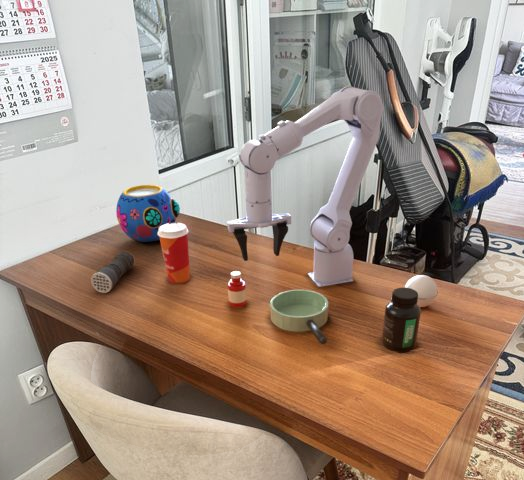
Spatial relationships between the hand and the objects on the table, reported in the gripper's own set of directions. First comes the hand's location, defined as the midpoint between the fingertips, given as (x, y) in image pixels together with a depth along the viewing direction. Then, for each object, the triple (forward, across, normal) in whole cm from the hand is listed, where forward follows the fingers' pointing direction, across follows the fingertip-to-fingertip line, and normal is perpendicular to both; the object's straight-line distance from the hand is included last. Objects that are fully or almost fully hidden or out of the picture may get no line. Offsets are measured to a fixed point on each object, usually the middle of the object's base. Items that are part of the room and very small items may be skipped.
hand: (260, 256), depth 121 cm
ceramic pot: (+10, -22, +47) cm, 53 cm away
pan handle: (+8, +4, -24) cm, 26 cm away
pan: (+10, +4, -14) cm, 18 cm away
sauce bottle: (+10, -7, -3) cm, 12 cm away
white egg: (+10, +33, -19) cm, 39 cm away
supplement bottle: (+10, +20, -31) cm, 38 cm away
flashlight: (+10, -34, +21) cm, 41 cm away
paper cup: (+10, -18, +16) cm, 26 cm away
